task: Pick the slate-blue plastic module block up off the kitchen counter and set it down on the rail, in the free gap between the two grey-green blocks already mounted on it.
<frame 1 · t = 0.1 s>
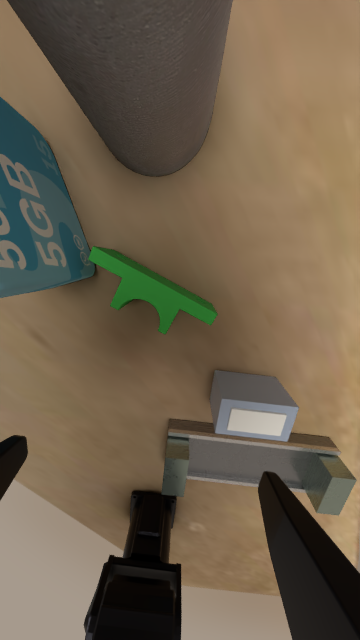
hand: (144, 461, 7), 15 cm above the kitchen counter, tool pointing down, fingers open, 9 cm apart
rail: (243, 449, 25), on the kitchen counter
module: (241, 387, 23), on the kitchen counter
pillar candle: (155, 112, 16), on the kitchen counter
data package: (56, 219, 19), on the kitchen counter
pipe clamp: (156, 291, 21), on the kitchen counter
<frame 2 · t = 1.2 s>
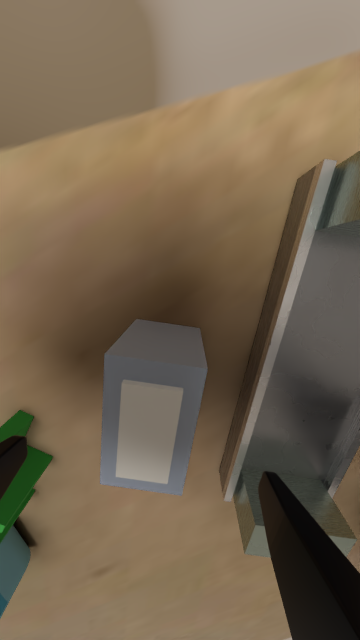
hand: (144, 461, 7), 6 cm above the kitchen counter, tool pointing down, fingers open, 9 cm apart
rail: (303, 365, 13), on the kitchen counter
module: (161, 371, 13), on the kitchen counter
pipe clamp: (22, 463, 16), on the kitchen counter
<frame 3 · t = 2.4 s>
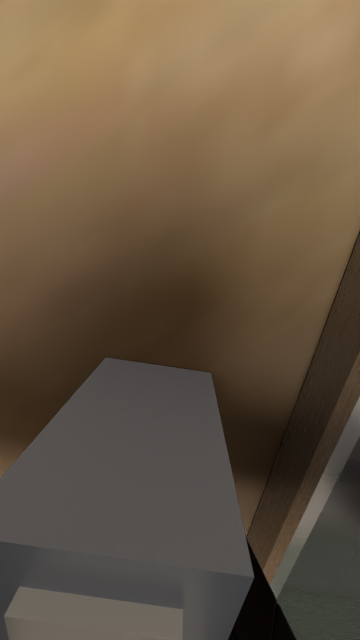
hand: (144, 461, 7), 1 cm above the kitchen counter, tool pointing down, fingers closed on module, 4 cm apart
module: (149, 437, 8), on the kitchen counter, touching gripper
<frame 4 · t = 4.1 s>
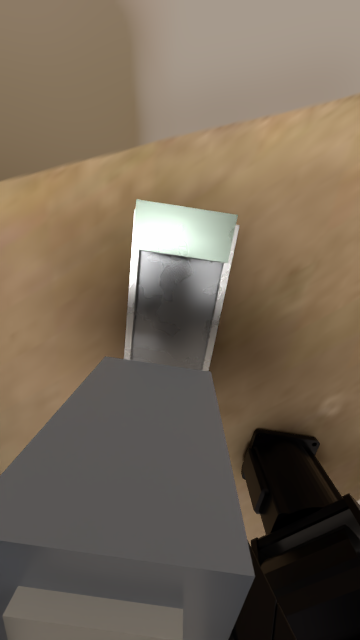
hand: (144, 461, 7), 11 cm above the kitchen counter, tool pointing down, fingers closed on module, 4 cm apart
rail: (169, 343, 18), on the kitchen counter
module: (149, 437, 8), point 10 cm above the kitchen counter, touching gripper
when the fingers open (3 cm above the kitchen counter, at t = 5.7 s): module stays where it is, resting on rail.
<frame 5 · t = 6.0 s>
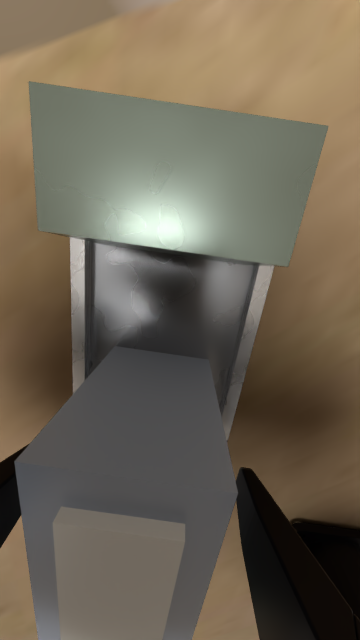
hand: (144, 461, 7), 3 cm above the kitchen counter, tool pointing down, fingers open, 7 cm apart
rail: (157, 398, 11), on the kitchen counter
module: (153, 419, 9), point 1 cm above the kitchen counter, touching rail
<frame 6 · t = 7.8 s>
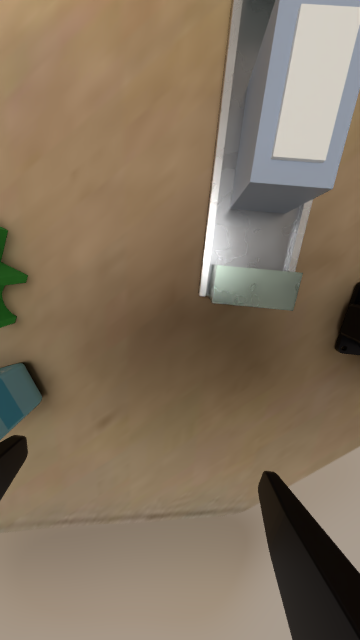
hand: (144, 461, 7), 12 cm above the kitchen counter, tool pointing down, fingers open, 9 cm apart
rail: (259, 165, 15), on the kitchen counter
module: (267, 154, 13), point 1 cm above the kitchen counter, touching rail
pipe clamp: (4, 290, 19), on the kitchen counter
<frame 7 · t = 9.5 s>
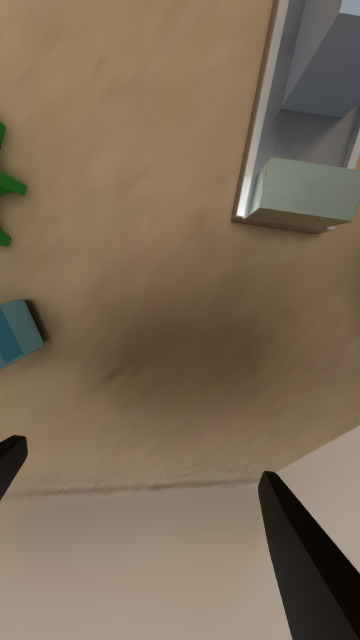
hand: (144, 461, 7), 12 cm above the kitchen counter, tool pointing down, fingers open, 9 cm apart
rail: (314, 64, 13), on the kitchen counter
module: (331, 39, 12), point 1 cm above the kitchen counter, touching rail
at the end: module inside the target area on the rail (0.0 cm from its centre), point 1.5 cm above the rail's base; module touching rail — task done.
